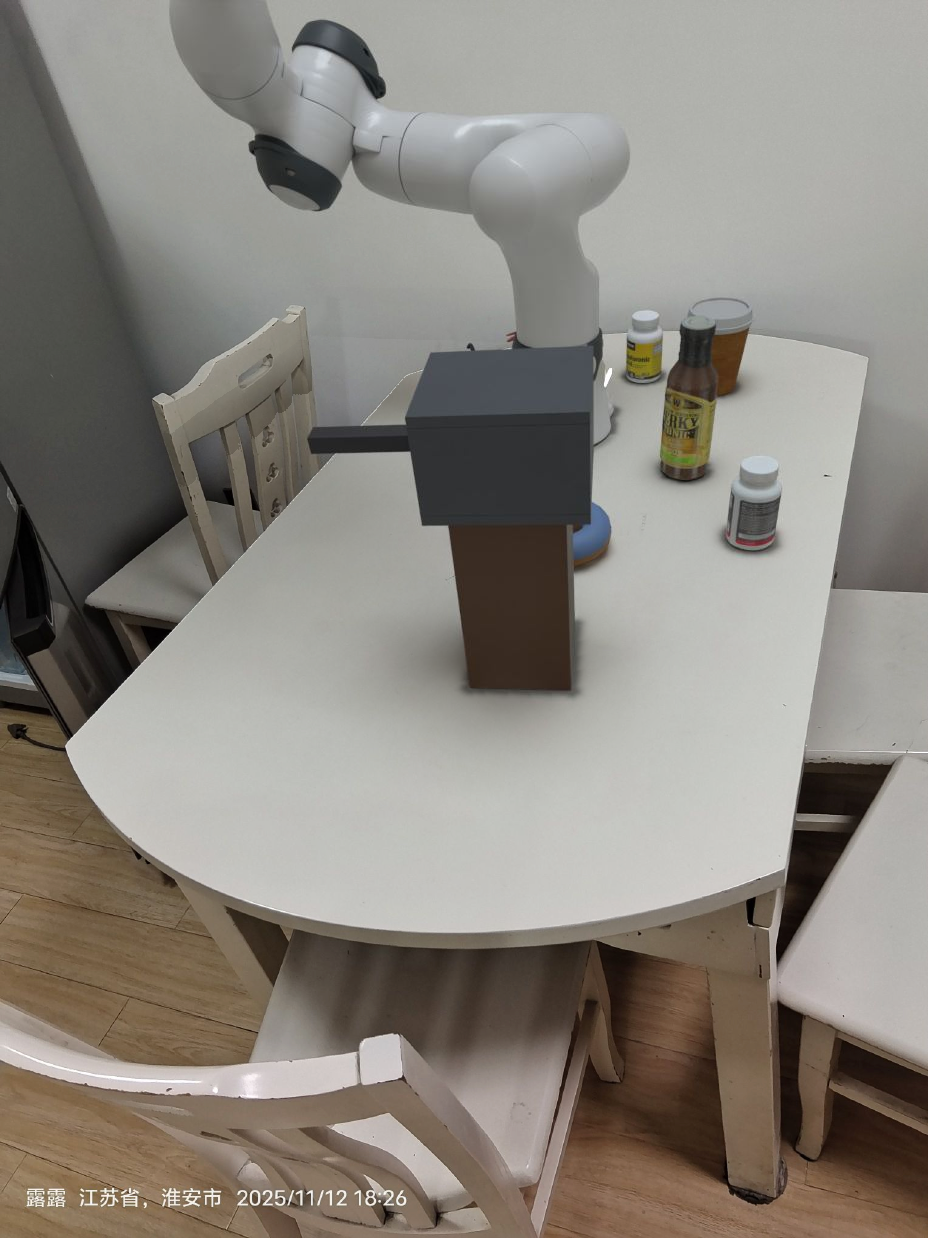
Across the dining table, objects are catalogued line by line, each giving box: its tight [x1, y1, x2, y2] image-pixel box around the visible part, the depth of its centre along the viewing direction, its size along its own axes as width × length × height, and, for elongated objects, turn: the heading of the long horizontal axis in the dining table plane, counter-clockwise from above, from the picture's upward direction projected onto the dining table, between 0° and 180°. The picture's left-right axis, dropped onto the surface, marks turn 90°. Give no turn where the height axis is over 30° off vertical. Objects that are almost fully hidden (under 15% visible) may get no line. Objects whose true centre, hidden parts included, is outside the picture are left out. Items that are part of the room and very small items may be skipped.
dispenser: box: [404, 346, 595, 691], centre depth 78 cm, size 14×12×30 cm
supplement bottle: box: [625, 309, 664, 384], centre depth 131 cm, size 5×5×10 cm
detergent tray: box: [306, 423, 410, 455], centre depth 73 cm, size 23×10×7 cm, turn 82°
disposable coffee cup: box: [684, 296, 755, 397], centre depth 125 cm, size 10×10×12 cm
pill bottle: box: [725, 455, 783, 551], centre depth 96 cm, size 5×5×10 cm
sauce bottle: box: [659, 316, 718, 481], centre depth 105 cm, size 6×6×20 cm
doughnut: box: [573, 501, 612, 567], centre depth 100 cm, size 10×10×5 cm
